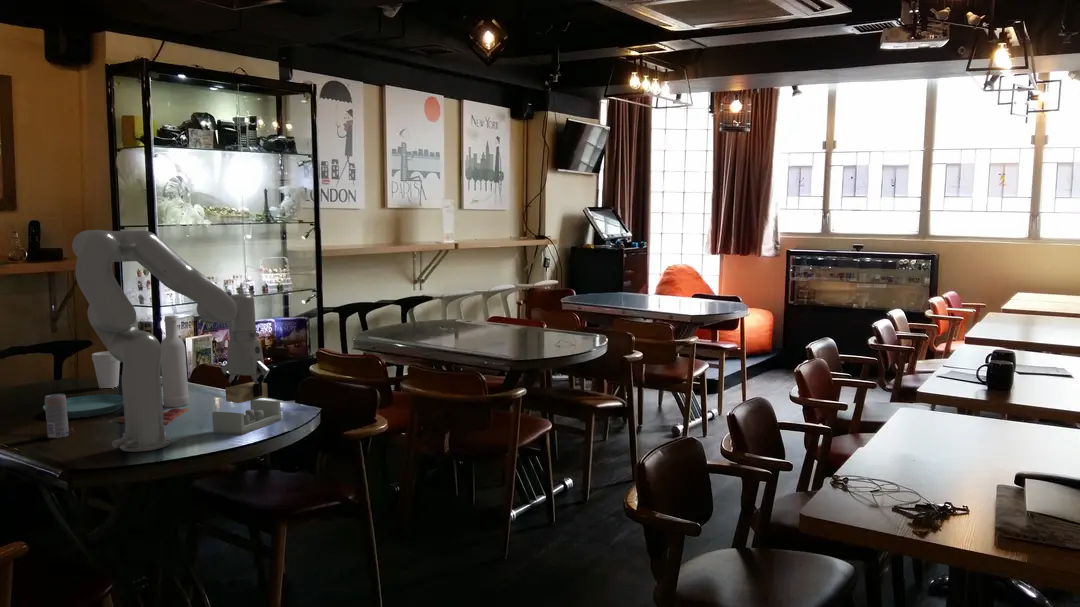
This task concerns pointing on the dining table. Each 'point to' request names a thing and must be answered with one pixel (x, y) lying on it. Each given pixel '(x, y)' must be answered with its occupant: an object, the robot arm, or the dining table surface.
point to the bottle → (173, 366)
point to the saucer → (92, 405)
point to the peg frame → (247, 418)
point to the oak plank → (244, 393)
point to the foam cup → (106, 369)
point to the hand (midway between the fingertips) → (247, 395)
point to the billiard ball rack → (164, 415)
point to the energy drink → (56, 416)
